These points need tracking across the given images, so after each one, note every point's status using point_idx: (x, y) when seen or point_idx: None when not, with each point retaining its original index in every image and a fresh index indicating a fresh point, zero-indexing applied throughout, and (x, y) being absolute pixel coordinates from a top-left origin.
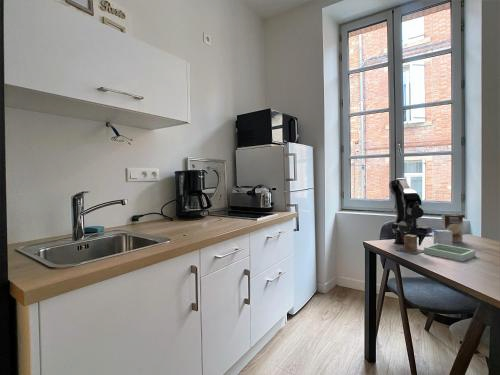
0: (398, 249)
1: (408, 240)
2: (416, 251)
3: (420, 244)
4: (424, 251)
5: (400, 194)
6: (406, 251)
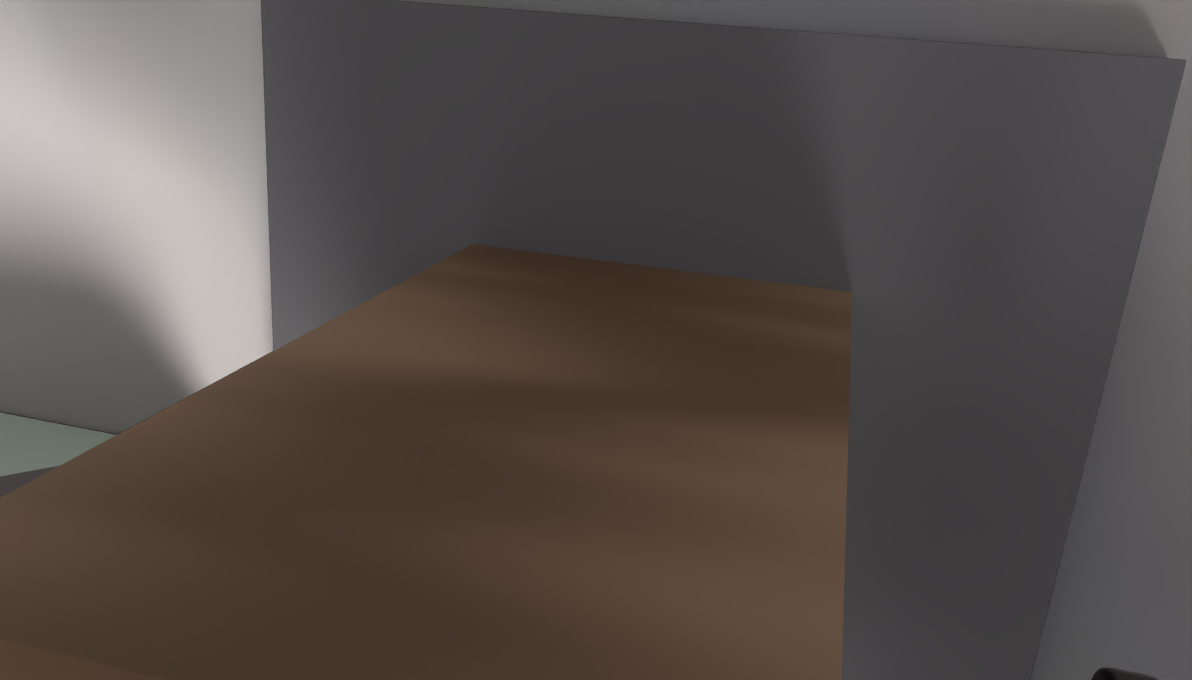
0: (1098, 166)
1: (462, 463)
2: None
3: None
4: None
5: None
6: (657, 78)
